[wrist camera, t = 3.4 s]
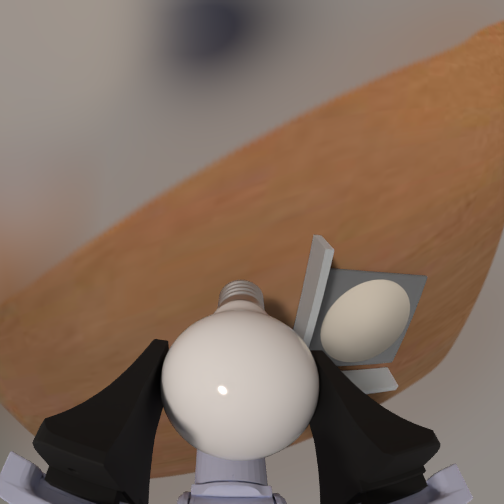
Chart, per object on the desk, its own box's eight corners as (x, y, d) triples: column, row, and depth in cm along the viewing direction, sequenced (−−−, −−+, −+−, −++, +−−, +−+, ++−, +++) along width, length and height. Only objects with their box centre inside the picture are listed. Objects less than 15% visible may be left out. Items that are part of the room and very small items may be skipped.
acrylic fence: (382, 376, 26) (392, 395, 24) (279, 382, 25) (283, 405, 22) (433, 250, 21) (453, 262, 18) (313, 234, 20) (325, 248, 17)
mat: (390, 360, 26) (392, 362, 25) (302, 364, 25) (303, 367, 24) (425, 275, 22) (428, 277, 22) (329, 268, 21) (330, 270, 21)
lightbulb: (308, 267, 17) (374, 412, 7) (267, 344, 19) (281, 488, 9) (210, 231, 16) (158, 366, 6) (180, 315, 18) (135, 460, 8)
